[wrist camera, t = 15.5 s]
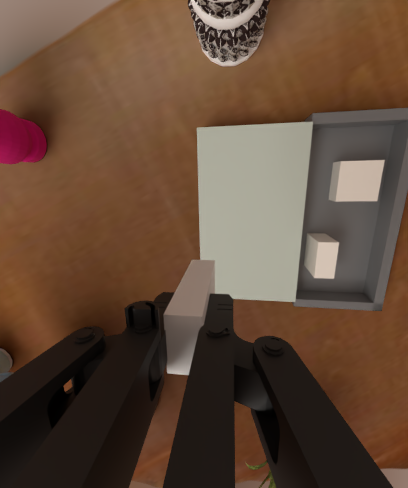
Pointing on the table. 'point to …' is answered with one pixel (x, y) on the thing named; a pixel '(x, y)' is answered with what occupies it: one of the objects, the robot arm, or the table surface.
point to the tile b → (356, 180)
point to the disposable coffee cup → (5, 361)
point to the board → (253, 206)
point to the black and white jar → (229, 28)
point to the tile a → (321, 255)
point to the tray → (354, 207)
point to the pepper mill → (20, 140)
